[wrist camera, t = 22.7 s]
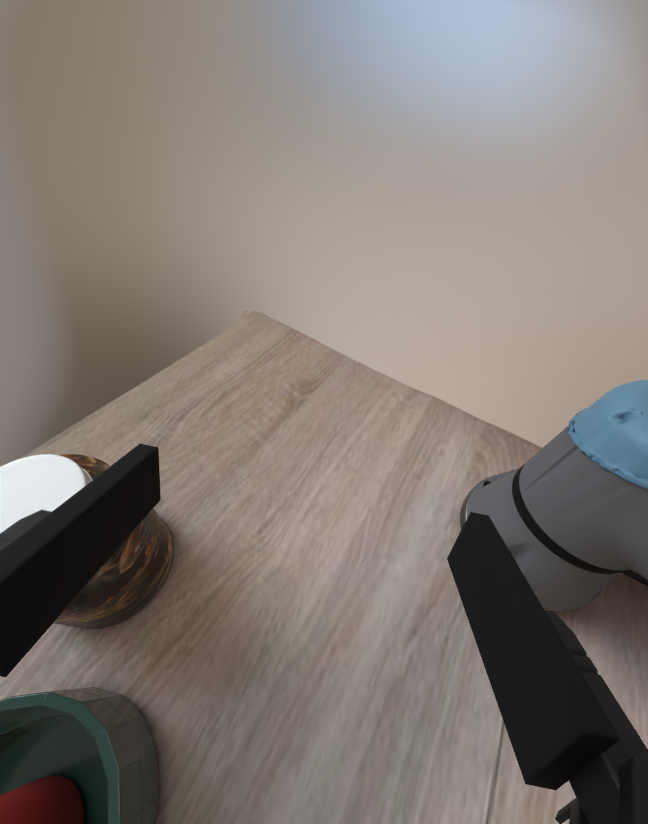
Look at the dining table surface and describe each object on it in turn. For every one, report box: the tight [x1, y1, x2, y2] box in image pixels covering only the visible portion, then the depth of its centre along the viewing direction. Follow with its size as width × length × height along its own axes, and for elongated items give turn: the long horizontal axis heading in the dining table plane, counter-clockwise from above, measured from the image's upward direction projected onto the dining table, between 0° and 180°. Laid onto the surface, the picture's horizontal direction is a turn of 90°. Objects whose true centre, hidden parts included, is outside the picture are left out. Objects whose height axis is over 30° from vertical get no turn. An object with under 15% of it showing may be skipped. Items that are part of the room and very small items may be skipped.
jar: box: [0, 454, 174, 628], centre depth 27 cm, size 12×12×15 cm
